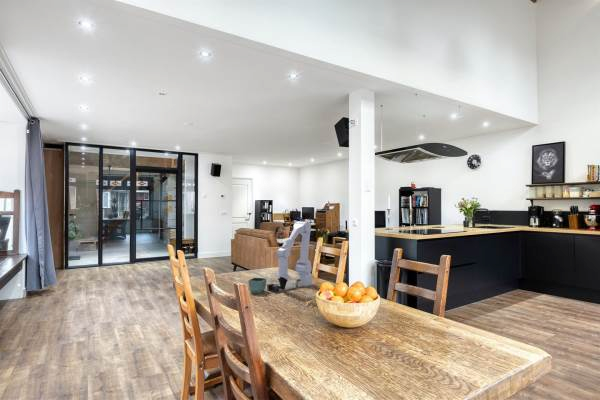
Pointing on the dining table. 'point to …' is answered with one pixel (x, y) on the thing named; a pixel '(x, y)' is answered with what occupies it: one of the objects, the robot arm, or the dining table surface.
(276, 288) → the bar
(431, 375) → the dining table surface
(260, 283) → the flower pot
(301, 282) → the tongs fixed
